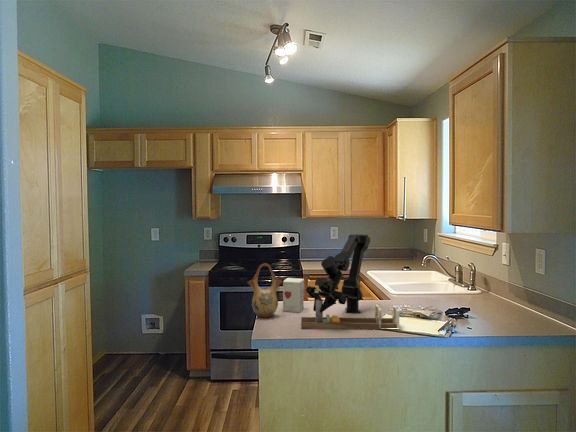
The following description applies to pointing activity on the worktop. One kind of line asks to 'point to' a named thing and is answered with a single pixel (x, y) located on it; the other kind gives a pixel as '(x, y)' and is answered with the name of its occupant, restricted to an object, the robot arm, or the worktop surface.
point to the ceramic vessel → (264, 295)
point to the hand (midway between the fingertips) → (317, 311)
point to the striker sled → (320, 315)
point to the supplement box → (293, 294)
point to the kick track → (355, 322)
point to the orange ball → (334, 319)
